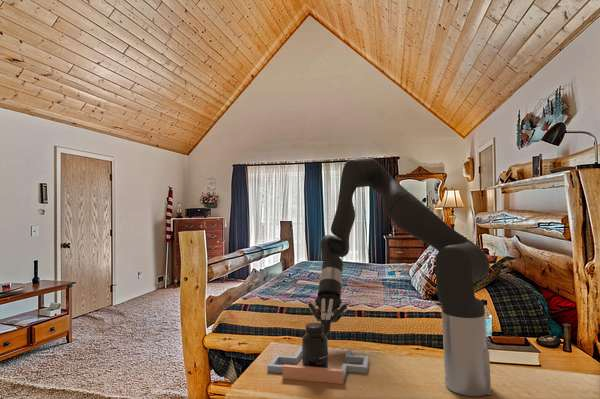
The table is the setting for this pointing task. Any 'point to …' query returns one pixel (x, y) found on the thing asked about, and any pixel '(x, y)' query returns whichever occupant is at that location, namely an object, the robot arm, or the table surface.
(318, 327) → the supplement bottle
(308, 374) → the grey zigzag frame
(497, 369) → the table surface
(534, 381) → the table surface
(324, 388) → the table surface
